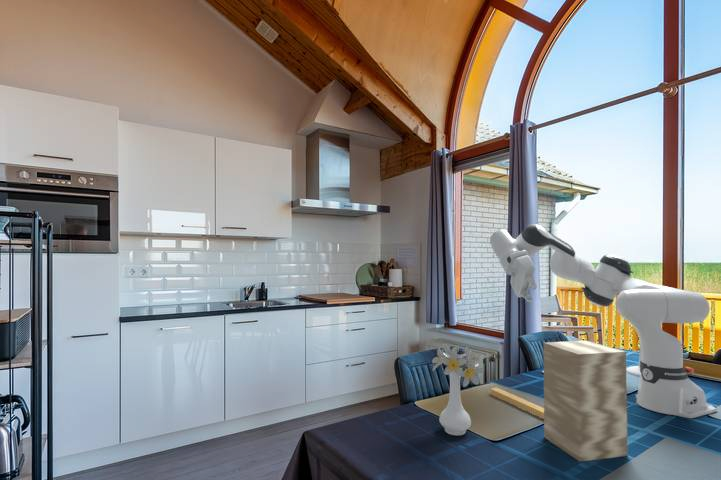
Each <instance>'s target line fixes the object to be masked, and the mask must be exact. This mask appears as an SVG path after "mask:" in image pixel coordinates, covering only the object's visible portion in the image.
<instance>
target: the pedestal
mask: <svg viewBox="0 0 721 480" xmlns="http://www.w3.org/2000/svg"><path fill="white" fill-rule="evenodd" d="M626 369H627V351H625V350H622V349H618V348H614V347H610V346H607V345H604V344H600V343H597V342H593V341H589V340H573V341H572V340H571V341H570V340H569V341H548V342H543V408H544V420H543V423H544V424H543V425H544V427H543V431H544V434H543V435H544V437H545V438H544V439H546V440H548V441H549V442H550V443H552V444H553V445H554V446H556V447H557V448H559V449H561V450H562V451H563V452H565V453H566V454H568V455H570V456H571V457H572V458H573V459H575V460H577V461H578V462H579V463H580V462H588V461H589V462H590V461H596V460H604V459H605V460H606V459H613V458H620V457H621V458H622V457H628V454H629V453H628V399H627V397H628V395H627V392H628V391H627V388H628V387H627V372H626Z"/></svg>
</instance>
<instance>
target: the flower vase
mask: <svg viewBox="0 0 721 480" xmlns="http://www.w3.org/2000/svg"><path fill="white" fill-rule="evenodd" d="M460 349H461V348H460V346H459V345H455V346H453V347H452V348H451V347H450V345H448V344H447V343H443V344H442V349H441V347H438V348H437V350H436V352H437V353H436V354H437V356H435V357H433V358H432V360H431V362H432V364H435V365H434V366H433V368H432V371H433V372H434V371H435V370H436V369H437V368H438V367H439V366H441V365H442V364H443V365H445V366H446V367H445V369H444V375H446V376H449V398H448V402H447V405H446V407H445V408H443V410H441V413H440V414H439V419H438V420H439V423H440V424H441V426H442V427H443V428H444V432H445V433H447V434H448V435H451V436H463V435H465V434H466V431H467V430H468V429H469V428H470V427H471V424H472V420H471V416H470V414H469V413H468V412H467V411H466V410H465V408H464V406H463V403H462V399H461V397H462V396H461V377H462V378H463V382H462V387H463V388H466V387H467V386H469V384H470V381H471V382H472V383H473V385H476V386H477V385H480V379H479V377H478V376H477V375H479V376H481V374H482V373H484V370H485V368H484V367H479V365H480V363H479V361H478V360H477V356H476V355H475V354H473V351H472V350H471V349H470V350H469V348H468V346H466V347H465V350H464V353H462V354H459V353H458V352H459V351H460Z"/></svg>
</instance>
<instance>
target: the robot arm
mask: <svg viewBox="0 0 721 480" xmlns="http://www.w3.org/2000/svg"><path fill="white" fill-rule="evenodd" d="M489 243H490V246H491V248H492V251H493V253H494V254H495V256H496V257H497V259H499V263H500V265H501V268H502V269H503V271H504V273H505V274H506V275H508V276H510V285H511V287H512V290H513V293H514V294H515V296H516V297H517V298H523V299H525V301H526V302H527V303H531V302H532V301H533V298H532V296H531V295H529V293H528V291H529V289H531V290H532V291H533V290H534V291H535V290H537V287H538V285H537V283H536V280H535V278H534V273H535V269H536V268H535V264H534V262H533V261H532V258H533V257H534V256H535V255H536V254H537V253H539V252H540V251H541V250H542V249H543V248H546V247H548V248H550V249H552V250H554V252H553V253H552V255H551V256H550V260H549V267H550V270H551V272H552V273H553V274H554V276H556V277H558V278H561V279H564V280H567V281H572V282H577V283H580V284H582V285H583V286H584V287H583V286H581V290H582V291H583V295H584V296H585V298H586V299H587V300H588V301H589V302H590V303H591V304H593V305H595V306H597V307H609V306H611V304H613V302H615V308H616V310H617V313H618V314H619V315H620V317H622V318H623V319H625V320H626V321H627V322H629V324H631V326H633V328H634V330H635V331H636V333H637V336H638V338H639V346H640V345H641V361H640V372H641V375H640V376H639V378H638V380H639V381H638V389H637V393H636V394H635V398H636V404H637V405H638V406H640V407H642V408H644V409H646V410H649V411H653V412H656V413H659V414H665V415H669V416H671V415H673V416H678V417H682V418H687V419H694V418H699V417H703V416H705V415H709V414H713V413H716V412H717V408H716V407H715V406H713V405H711V404H709V403H707V397H706V393H705V391H704V389H702V387H700V386H698V385H697V384H696V383H695V382H693V381H692V380H691V379H690V378H689V376H688V374H689V375H694V373H695V369H694V368H693V367H689V366H684V361H683V360H684V356H683V354H684V352H683V348H684V347H683V344H682V342H681V340H680V339H679V338H677V337H676V336H674V335H672V334H670V333H668V332H666V331H664V330H663V328H662V323H664V324H665V323H666V324H667V323H668V324H682V325H683V324H685V325H686V324H693V323H701V322H703V321H705V320H706V319H707V318H708V316H709V313H710V303H709V301H708V299H707V298H706V297H705V296H704V295H703V294H702V293H701V292H697V291H696V292H695V291H691V290H686V289H679V288H675V287H672V286H671V287H669V286H667V285H666V286H665V285H660V284H654V283H652V282H649V281H646V280H643V279H640V278H636V277H632V276H631V274H634V271H632V270H631V269H632V268H631V265H630V263H629V262H628V260H626V259H625V258H623V257H621V256H620V255H616V254H605V255H603V256H602V257H601V258H600V259H599V263H598V264H597V266H596V268H595V265H593V263H592V262H590V261H588V260H587V259H586V258H583V257H582V256H579V255H576V251H575V250H574V248H573V247H572V246H571V245H570V244H569V243H567V242H566V241H564V240H562V239H561V238H560V237H558V236H556V235H554V234H553V233H551V232H550V231H548V229H546V228H544V227H543V226H542V225H540V224H537V223H531V224H527V226H526V227H525V228H524V229H523V230H522V232H521V233H519V235H518V236H517V237H516V238H513V236H511V234H510V233H509V232H508V231H507V230H506V229H503V228H502V229H499V230H496V231H495V232H494V233H493V234H491V236H490V238H489ZM615 299H616V300H615Z"/></svg>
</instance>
